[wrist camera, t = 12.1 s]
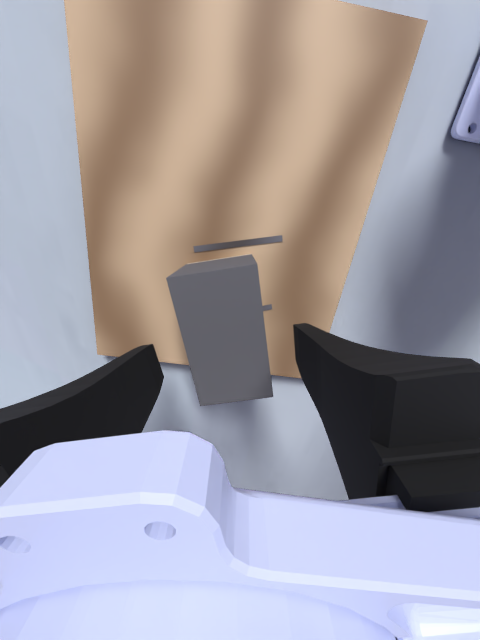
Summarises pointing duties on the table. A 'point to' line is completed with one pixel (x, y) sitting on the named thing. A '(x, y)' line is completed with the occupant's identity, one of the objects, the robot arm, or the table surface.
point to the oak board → (229, 151)
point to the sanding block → (223, 328)
